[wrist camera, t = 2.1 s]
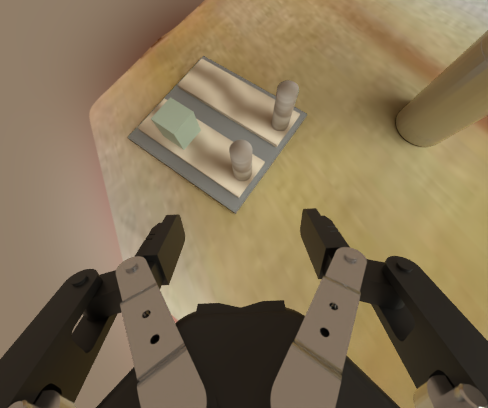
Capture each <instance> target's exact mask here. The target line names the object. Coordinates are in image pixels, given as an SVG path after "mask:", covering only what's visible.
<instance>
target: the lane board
mask: <svg viewBox="0 0 488 408" xmlns="http://www.w3.org/2000/svg"><path fill="white" fill-rule="evenodd" d="M201 59H204V60H206V61H207V62H209V63H211V64H213V65H214V66H216V67H218V68H220V69H222V70H223V71H225V72H227V73H229V74H230V75H232V76H234V77H236V78H238V79H239V80H241V81H243V82H245V83H246V84H248V85H250V86H252V87H253V88H255V89H257V90H259V91H261V92H262V93H264V94H266V95H268V96H269V97H271V98H273V99H276V96H274V95H273V94H271V93H269V92H267V91H265V90H264V89H262V88H260V87H258V86H257V85H255V84H253V83H251V82H249V81H248V80H246V79H244V78H242V77H241V76H239V75H237V74H235V73H233V72H232V71H230V70H228V69H226V68H224V67H223V66H221V65H219V64H217V63H216V62H214V61H212V60H210V59H208V58H207V57H205V56H203V57H202V58H201ZM201 59H200V60H201ZM200 60H199V61H200ZM199 61H198V62H199ZM198 62H197V63H198ZM197 63H196V64H197ZM196 64H195V65H196ZM195 65H194V66H195ZM194 66H193V67H194ZM193 67H192V68H193ZM188 73H189V72H188ZM188 73H187V74H188ZM187 74H186V75H187ZM186 75H185V76H186ZM185 76H184V77H185ZM184 77H183V78H184ZM183 78H182V79H183ZM182 79H181V80H182ZM181 80H180V81H181ZM180 81H179V82H180ZM179 82H178V83H179ZM170 97H171V98H172V99H174V100H176V101H177V102H179V103H180V104H182V105H184V106H185V107H187V108H188V109H190V110H192V111H193V112H194V114H195V117H196V119H198V120H200V121H201V122H203V123H204V124H206V125H207V126H209V127H211V128H212V129H214V130H215V131H217V132H219V133H220V134H222V135H223V136H225V137H226V138H228V139H230V140H231V141H233V142H234V141H236V140H246V141H248V142H249V143H250V144H251V146H252V149H253V150H252V154H253V155H255V156H257V157H258V158H260V159H261V160H263V161H265V164H264V165H263V166H262V168H261V169H260V170H259V172H258V173H257V174H256V176H255V177H254V178H253V180H252V181H251V183H250V184H249V185H248V187H247V188H246V189H245V191H244V192H243V193H242V195H241V196H240V197H239V198H238V197H237V196H235V195H234V194H232V193H231V192H229V191H228V190H226V189H225V188H223V187H222V186H220V185H219V184H218V183H216V182H215V181H213V180H212V179H210V178H209V177H207V176H206V175H204V174H203V173H201V172H200V171H199V170H197V169H196V168H194V167H193V166H191V165H190V164H188V163H187V162H185V161H184V160H182V159H181V158H180V157H178V156H177V155H175V154H174V153H172V152H171V151H169V150H168V149H166V148H165V147H163V146H162V145H161V144H159V143H158V142H156V141H155V140H153V139H152V138H150V137H149V136H147V135H146V134H144V133H143V132H141V131H140V130H139V129H138V128H136V129H135V130H134V131H133V132H132V133H131V134H130V135H129V136H128V138H129V139H130V140H131V141H133V142H134V143H135V144H137V145H138V146H140V147H141V148H143V149H144V150H145V151H147V152H148V153H150V154H151V155H153V156H154V157H155V158H157V159H158V160H160V161H161V162H163V163H164V164H165V165H167V166H168V167H170V168H171V169H173V170H174V171H175V172H177V173H178V174H180V175H181V176H183V177H184V178H185V179H187V180H188V181H190V182H191V183H192V184H194V185H195V186H197V187H198V188H200V189H201V190H202V191H204V192H205V193H207V194H208V195H210V196H211V197H212V198H214V199H215V200H217V201H218V202H220V203H221V204H222V205H224V206H225V207H227V208H228V209H230V210H231V211H232V212H234V213H235V214H236V212H237V211H238V210H239V208H240V207H241V206H242V204H243V203H244V202H245V200H246V199H247V197H248V196H249V195H250V193H251V192H252V191H253V189H254V188H255V186H256V185H257V184H258V182H259V181H260V180H261V178H262V177H263V175H264V174H265V173H266V171H267V170H268V169H269V167H270V166H271V165H272V163H273V162H274V160H275V159H276V158H277V156H278V155H279V154H280V152H281V151H282V149H283V148H284V147H285V145H286V144H287V143H288V141H289V140H290V138H291V137H292V136H293V134H294V133H295V132H296V130H297V129H298V128H299V126H300V125H301V123H302V122H303V121H304V119H305V118H306V116H307V113H305V112H303V111H301V110H299V109H298V108H296V107H294V109H293V110H294V111H296V112H298V113H300V116H299V118H298V119H297V120H296V122H295V123H294V124H293V126H292V127H291V128H290V130H289V131H288V132H287V134H286V135H285V137H284V138H283V139H282V141H281V142H280V143H279V145H278V146H277V147H275V146H273V145H272V144H270V143H268V142H267V141H265V140H264V139H262V138H260V137H259V136H257V135H255V134H254V133H252V132H250V131H249V130H247V129H246V128H244V127H242V126H241V125H239V124H237V123H236V122H234V121H232V120H231V119H229V118H227V117H226V116H224V115H223V114H221V113H219V112H218V111H216V110H214V109H213V108H211V107H209V106H208V105H206V104H204V103H203V102H201V101H200V100H198V99H196V98H195V97H193V96H191V95H190V94H188V93H186V92H185V91H183V90H182V89H180V88H179V87H178V85H176V86H175V87H174V88H173V89H172V90H171V91H170V92H169V93H168V94H167V95H166V96H165V99H166V100H168V99H169V98H170ZM161 102H162V101H161ZM161 102H160V103H161ZM160 103H159V104H160ZM159 104H158V105H159ZM158 105H157V106H158ZM157 106H156V107H157ZM156 107H155V108H156ZM155 108H154V109H155ZM154 109H153V110H154ZM153 110H152V111H153ZM152 111H151V112H152ZM148 116H149V115H148ZM148 116H147V117H148ZM147 117H146V118H147ZM146 118H145V119H146ZM145 119H144V120H145ZM144 120H143V121H144ZM143 121H142V122H143ZM142 122H141V123H142ZM141 123H140V124H141ZM140 124H139V125H140ZM139 125H138V126H139ZM138 126H137V127H138Z"/></svg>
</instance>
